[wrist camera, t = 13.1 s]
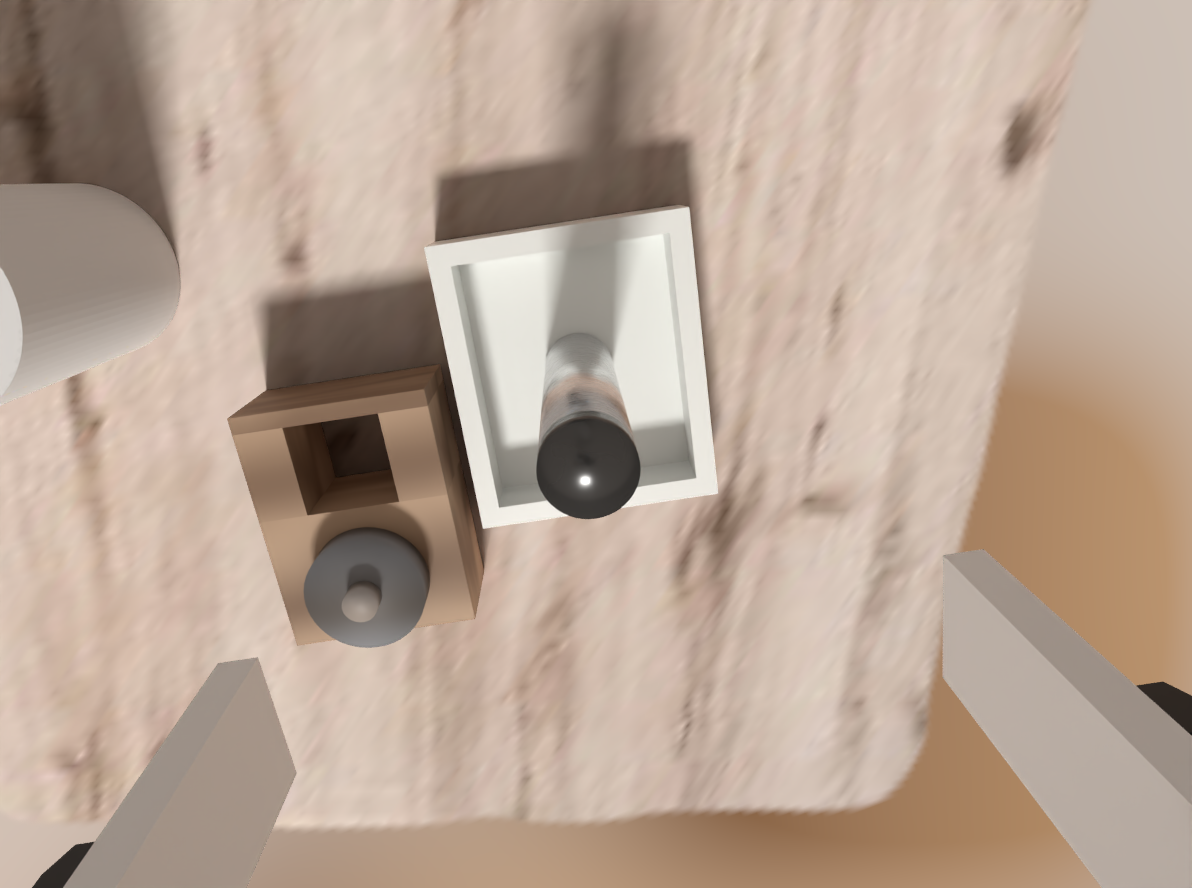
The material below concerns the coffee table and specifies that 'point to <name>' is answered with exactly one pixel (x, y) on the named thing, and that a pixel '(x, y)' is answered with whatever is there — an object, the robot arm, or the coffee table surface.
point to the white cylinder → (77, 282)
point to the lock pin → (584, 432)
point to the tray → (564, 306)
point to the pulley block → (363, 509)
